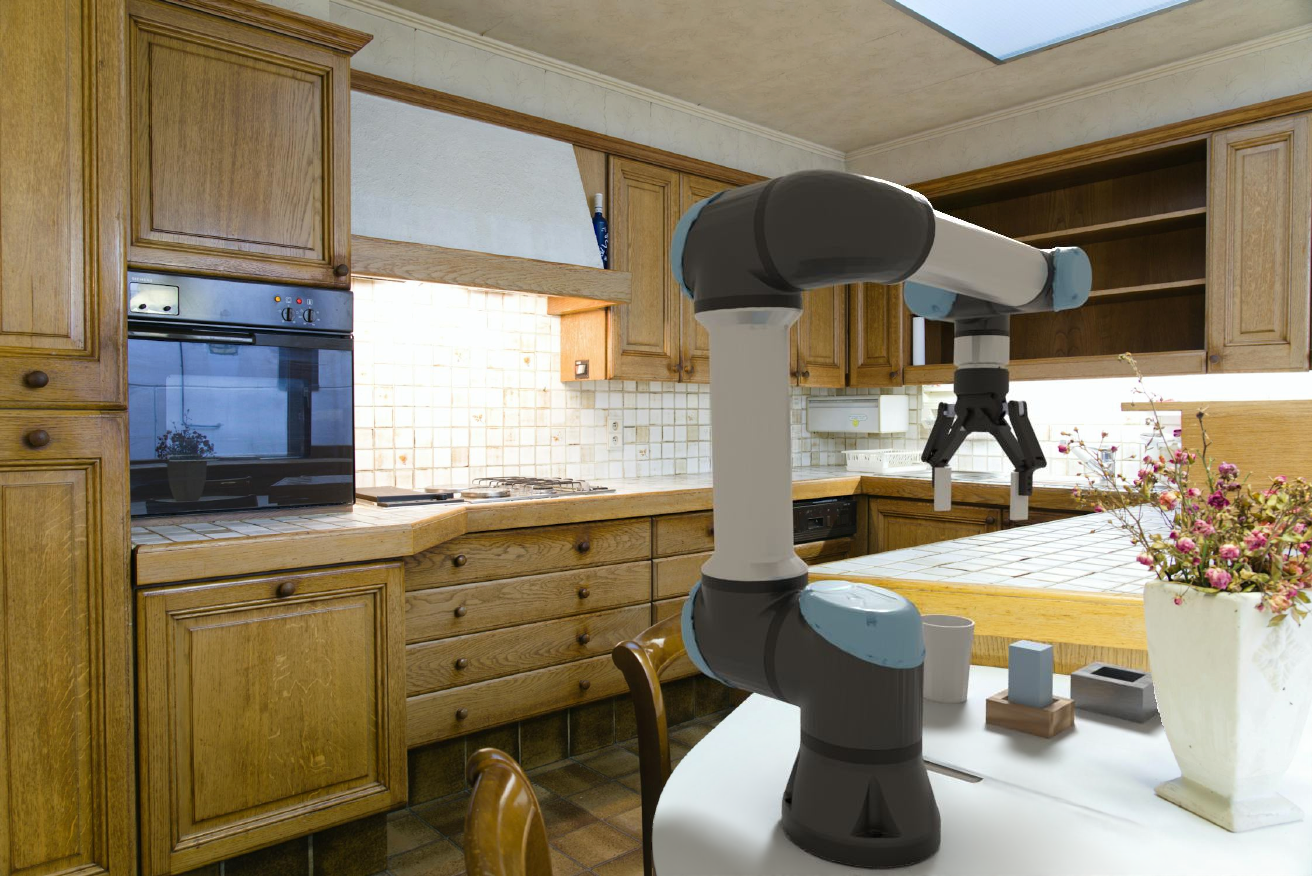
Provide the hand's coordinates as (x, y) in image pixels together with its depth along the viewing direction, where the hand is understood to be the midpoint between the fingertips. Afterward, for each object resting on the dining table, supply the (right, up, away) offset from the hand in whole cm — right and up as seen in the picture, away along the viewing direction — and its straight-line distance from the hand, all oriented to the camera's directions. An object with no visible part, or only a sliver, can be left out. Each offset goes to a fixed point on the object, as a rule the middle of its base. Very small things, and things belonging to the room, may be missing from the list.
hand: (978, 515), depth 125 cm
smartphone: (-14, -28, -22) cm, 38 cm away
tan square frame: (+2, -26, -14) cm, 29 cm away
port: (+16, -26, -7) cm, 31 cm away
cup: (-6, -27, -3) cm, 28 cm away
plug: (+2, -26, -14) cm, 29 cm away
